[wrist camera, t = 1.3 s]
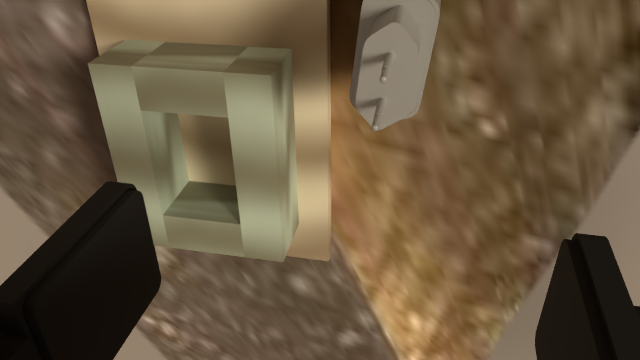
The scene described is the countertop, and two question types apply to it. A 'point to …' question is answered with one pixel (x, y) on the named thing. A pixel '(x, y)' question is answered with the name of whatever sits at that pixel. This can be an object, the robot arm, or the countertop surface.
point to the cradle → (221, 120)
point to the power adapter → (392, 58)
